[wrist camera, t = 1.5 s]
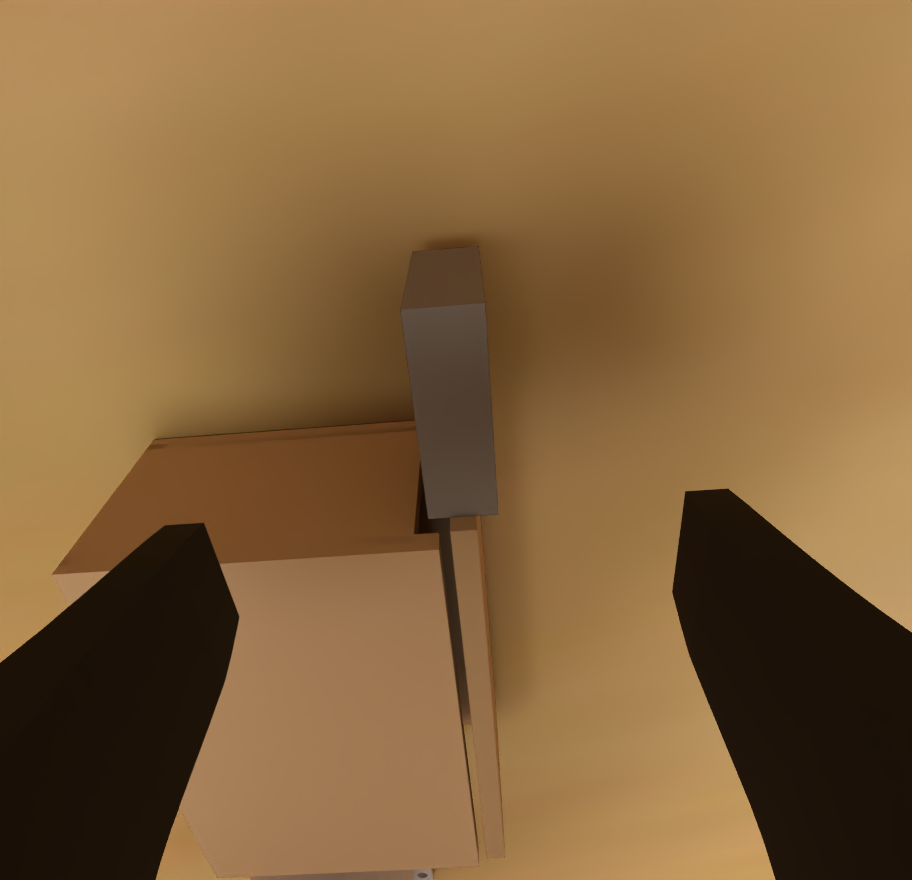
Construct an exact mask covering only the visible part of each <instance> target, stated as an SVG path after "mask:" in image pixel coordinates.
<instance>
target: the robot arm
mask: <svg viewBox="0 0 912 880" xmlns="http://www.w3.org/2000/svg"><path fill="white" fill-rule="evenodd" d="M672 593H673V597H674V600H675V604H676V608H677V612H678V616H679V620H680V624H681V627H682V631H683V634H684V638H685V641H686V645H687V648H688V652H689V655H690V658H691V660H692V663H693V666H694V668H695V671H696V673H697V676H698V678H699V681H700V683H701V686H702V688H703V690H704V693H705V695H706V698H707V700H708V703H709V705H710V708H711V710H712V713H713V715H714V717H715V720H716V722H717V725H718V727H719V730H720V732H721V734H722V737H723V739H724V742H725V744H726V747H727V749H728V751H729V754H730V756H731V759H732V761H733V764H734V766H735V768H736V771H737V773H738V776H739V778H740V781H741V783H742V786H743V788H744V790H745V793H746V795H747V798H748V800H749V803H750V805H751V808H752V810H753V813H754V816H755V819H756V821H757V824H758V827H759V830H760V832H761V835H762V838H763V841H764V844H765V847H766V850H767V853H768V857H769V860H770V863H771V866H772V870H773V873H774V876H775V879H776V880H912V632H910V631H909V630H907V629H906V628H904V627H903V626H902V625H900V624H899V623H897V622H896V621H895V620H893V619H892V618H890V617H889V616H888V615H886V614H885V613H883V612H882V611H881V610H879V609H878V608H876V607H875V606H874V605H872V604H871V603H870V602H868V601H867V600H866V599H864V598H863V597H862V596H860V595H859V594H858V593H856V592H855V591H854V590H852V589H851V588H850V587H849V586H847V585H846V584H845V583H843V582H842V581H841V580H839V579H838V578H837V577H836V576H834V575H833V574H832V573H831V572H829V571H828V570H827V569H825V568H824V567H823V566H822V565H820V564H819V563H818V562H817V561H815V560H814V559H813V558H812V557H810V556H809V555H808V554H807V553H806V552H804V551H803V550H802V549H801V548H799V547H798V546H797V545H796V544H794V543H793V542H792V541H791V540H790V539H788V538H787V537H786V536H785V535H784V534H782V533H781V532H780V531H779V530H778V529H776V528H775V527H774V526H773V525H772V524H770V523H769V522H768V521H767V520H766V519H764V518H763V517H762V516H761V515H760V514H758V513H757V512H756V511H755V510H754V509H752V508H751V507H750V506H749V505H748V504H746V503H745V502H744V501H743V500H741V499H740V498H739V497H738V496H737V495H735V494H734V493H733V492H732V491H730V490H729V489H716V490H700V491H685V499H684V506H683V514H682V522H681V529H680V537H679V545H678V553H677V560H676V568H675V576H674V583H673V591H672ZM238 622H239V614H238V611H237V609H236V606H235V603H234V601H233V598H232V596H231V593H230V590H229V588H228V585H227V582H226V580H225V577H224V574H223V572H222V569H221V566H220V564H219V561H218V558H217V556H216V553H215V550H214V548H213V545H212V543H211V540H210V537H209V535H208V532H207V529H206V527H205V524H204V523H191V524H175V525H165V526H163V527H162V528H161V529H159V530H158V531H157V532H156V533H154V534H153V535H152V536H150V537H149V538H148V539H147V540H146V541H144V542H143V543H142V544H141V545H140V546H138V547H137V548H136V549H135V550H134V551H133V552H131V553H130V554H129V555H128V556H127V557H126V558H124V559H123V560H122V561H121V562H120V563H119V564H118V565H116V566H115V567H114V568H113V569H112V570H111V571H109V572H108V573H107V574H106V575H105V576H104V577H103V578H101V579H100V580H99V581H98V582H97V583H96V584H95V585H93V586H92V587H91V588H90V589H89V590H88V591H86V592H85V593H84V594H83V595H82V596H81V597H79V598H78V599H77V600H76V601H75V602H74V603H72V604H71V605H70V606H69V607H68V608H67V609H65V610H64V611H63V612H62V613H61V614H60V615H58V616H57V617H56V618H55V619H54V620H53V621H51V622H50V623H49V624H48V625H47V626H46V627H44V628H43V629H42V630H41V631H39V632H38V633H37V634H36V635H34V636H33V637H32V638H31V639H29V640H28V641H27V642H26V643H25V644H23V645H22V646H21V647H20V648H18V649H17V650H16V651H15V652H13V653H12V654H11V655H10V656H8V657H7V658H6V659H5V660H3V661H2V662H1V663H0V880H156V876H157V872H158V869H159V865H160V862H161V859H162V856H163V853H164V850H165V846H166V843H167V840H168V837H169V834H170V831H171V828H172V825H173V823H174V820H175V817H176V815H177V812H178V809H179V806H180V804H181V801H182V798H183V796H184V793H185V790H186V788H187V785H188V782H189V779H190V777H191V774H192V771H193V769H194V766H195V763H196V760H197V758H198V755H199V752H200V750H201V747H202V744H203V742H204V739H205V736H206V733H207V731H208V728H209V725H210V722H211V720H212V717H213V714H214V711H215V708H216V706H217V703H218V700H219V697H220V695H221V692H222V689H223V686H224V683H225V680H226V676H227V672H228V668H229V664H230V660H231V655H232V651H233V646H234V642H235V637H236V632H237V627H238ZM251 880H434V874H433V869H415V870H392V871H369V872H346V873H323V874H300V875H277V876H254V877H251Z"/></svg>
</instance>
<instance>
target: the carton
mask: <svg viewBox="0 0 912 880" xmlns="http://www.w3.org/2000/svg"><path fill="white" fill-rule="evenodd" d="M191 523H204V524H205V527H206V529H207V532H208V535H209V537H210V540H211V543H212V545H213V548H214V550H215V553H216V556H217V558H218V561H219V564H220V566H221V569H222V572H223V574H224V577H225V580H226V582H227V585H228V588H229V590H230V593H231V596H232V598H233V601H234V603H235V606H236V609H237V611H238V614H239V622H238V627H237V632H236V637H235V642H234V646H233V651H232V655H231V660H230V664H229V668H228V672H227V676H226V680H225V683H224V686H223V689H222V692H221V695H220V697H219V700H218V703H217V706H216V708H215V711H214V714H213V717H212V720H211V722H210V725H209V728H208V731H207V733H206V736H205V739H204V742H203V744H202V747H201V750H200V752H199V755H198V758H197V760H196V763H195V766H194V769H193V771H192V774H191V777H190V779H189V782H188V785H187V788H186V790H185V793H184V796H183V798H182V801H181V804H180V806H179V809H180V811H181V813H182V814H183V816H184V818H185V820H186V822H187V824H188V825H189V827H190V829H191V831H192V833H193V835H194V836H195V838H196V840H197V842H198V844H199V846H200V847H201V849H202V851H203V853H204V855H205V857H206V858H207V860H208V862H209V864H210V866H211V867H212V869H213V871H214V873H215V875H216V877H217V878H231V877H254V876H277V875H300V874H323V873H346V872H369V871H392V870H415V869H438V868H461V867H479V847H478V839H477V831H476V823H475V815H474V807H473V799H472V791H471V783H470V775H469V767H468V759H467V751H466V743H465V735H464V727H463V724H472V721H471V712H470V703H469V694H468V686H467V677H466V668H465V659H464V650H463V642H462V633H461V624H460V615H459V606H458V598H457V589H456V580H455V571H454V562H453V554H452V545H451V536H450V518H437V519H428V513H427V505H426V498H425V490H424V483H423V476H422V468H421V461H420V453H419V446H418V438H417V431H416V423H415V421H403V422H389V423H376V424H362V425H348V426H335V427H321V428H307V429H294V430H280V431H267V432H253V433H239V434H226V435H212V436H198V437H185V438H171V439H158V440H153V442H152V443H151V444H150V446H149V447H148V448H147V450H146V451H145V452H144V454H143V455H142V456H141V458H140V459H139V460H138V462H137V463H136V464H135V465H134V467H133V468H132V469H131V471H130V472H129V473H128V475H127V476H126V477H125V479H124V480H123V481H122V483H121V484H120V485H119V487H118V488H117V489H116V491H115V492H114V493H113V494H112V496H111V497H110V498H109V500H108V501H107V502H106V504H105V505H104V506H103V508H102V509H101V510H100V512H99V513H98V514H97V516H96V517H95V518H94V520H93V521H92V522H91V524H90V525H89V526H88V527H87V529H86V530H85V531H84V533H83V534H82V535H81V537H80V538H79V539H78V541H77V542H76V543H75V545H74V546H73V547H72V549H71V550H70V551H69V553H68V554H67V555H66V556H65V558H64V559H63V560H62V562H61V563H60V564H59V566H58V567H57V568H56V570H55V571H54V572H53V574H52V576H53V578H54V580H55V582H56V584H57V586H58V587H59V589H60V591H61V593H62V595H63V597H64V598H65V600H66V602H67V604H68V606H70V605H71V604H72V603H74V602H75V601H76V600H77V599H78V598H79V597H81V596H82V595H83V594H84V593H85V592H86V591H88V590H89V589H90V588H91V587H92V586H93V585H95V584H96V583H97V582H98V581H99V580H100V579H101V578H103V577H104V576H105V575H106V574H107V573H108V572H109V571H111V570H112V569H113V568H114V567H115V566H116V565H118V564H119V563H120V562H121V561H122V560H123V559H124V558H126V557H127V556H128V555H129V554H130V553H131V552H133V551H134V550H135V549H136V548H137V547H138V546H140V545H141V544H142V543H143V542H144V541H146V540H147V539H148V538H149V537H150V536H152V535H153V534H154V533H156V532H157V531H158V530H159V529H161V528H162V527H163V526H165V525H175V524H191Z"/></svg>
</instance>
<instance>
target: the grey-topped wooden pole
mask: <svg viewBox="0 0 912 880" xmlns="http://www.w3.org/2000/svg"><path fill="white" fill-rule="evenodd" d="M400 312H401V319H402V326H403V334H404V341H405V349H406V356H407V364H408V371H409V379H410V386H411V394H412V401H413V408H414V416H415V423H416V431H417V438H418V446H419V453H420V461H421V468H422V476H423V483H424V490H425V498H426V505H427V513H428V519H437V518H450V536H451V545H452V554H453V562H454V571H455V580H456V589H457V598H458V606H459V615H460V624H461V633H462V642H463V650H464V659H465V668H466V677H467V686H468V694H469V703H470V712H471V721H472V729H473V738H474V747H475V756H476V765H477V773H478V782H479V791H480V800H481V809H482V817H483V826H484V835H485V844H486V853H487V859H490V858H505V846H504V830H503V813H502V797H501V780H500V764H499V748H498V731H497V715H496V701H495V689H494V677H493V664H492V652H491V640H490V627H489V615H488V603H487V590H486V578H485V566H484V553H483V541H482V529H481V516H482V515H497V514H498V500H497V484H496V468H495V452H494V436H493V420H492V404H491V389H490V373H489V357H488V341H487V325H486V309H485V298H484V289H483V280H482V271H481V262H480V253H479V246H473V247H461V248H450V249H438V250H426V251H414V252H412V256H411V260H410V265H409V270H408V275H407V280H406V285H405V290H404V294H403V299H402V304H401V309H400Z"/></svg>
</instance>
